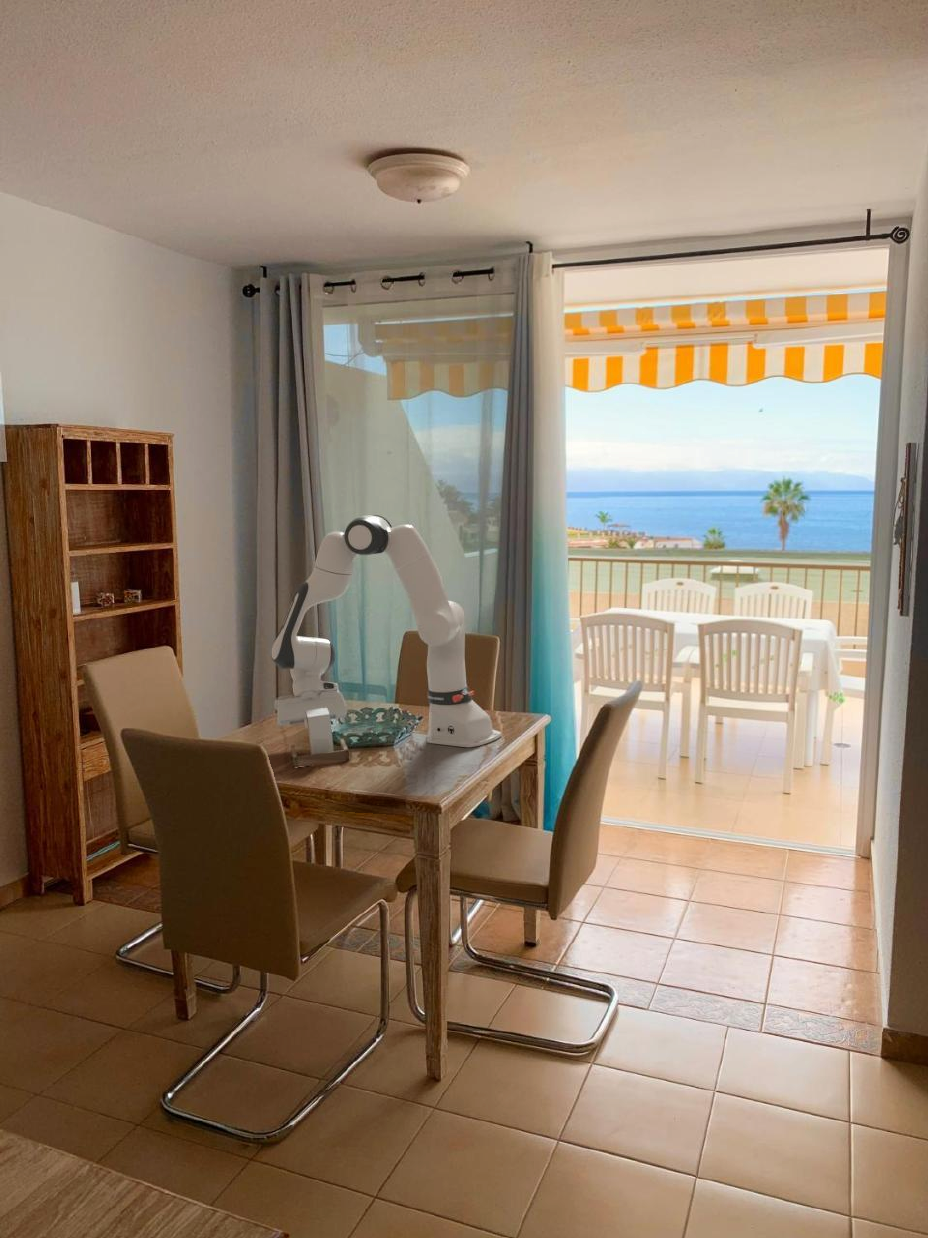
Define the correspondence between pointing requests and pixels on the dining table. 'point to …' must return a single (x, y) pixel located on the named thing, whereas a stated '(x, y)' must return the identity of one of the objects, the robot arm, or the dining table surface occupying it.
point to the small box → (319, 731)
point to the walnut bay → (321, 756)
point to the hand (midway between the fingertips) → (315, 733)
